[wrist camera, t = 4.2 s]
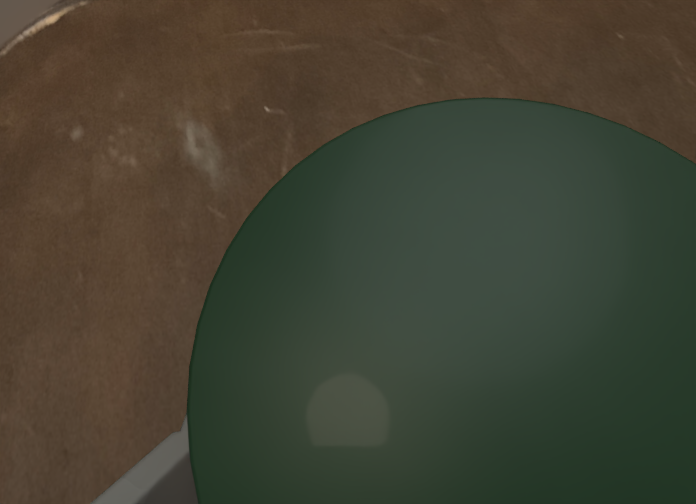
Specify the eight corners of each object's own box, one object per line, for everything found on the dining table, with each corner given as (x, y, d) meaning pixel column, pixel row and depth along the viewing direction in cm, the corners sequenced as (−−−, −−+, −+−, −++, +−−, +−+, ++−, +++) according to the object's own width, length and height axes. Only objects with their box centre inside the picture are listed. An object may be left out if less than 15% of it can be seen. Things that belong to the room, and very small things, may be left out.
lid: (554, 816, 5) (723, 1153, 2) (148, 431, 6) (33, 431, 4) (764, 347, 6) (976, 304, 4) (407, 129, 8) (427, 12, 6)
